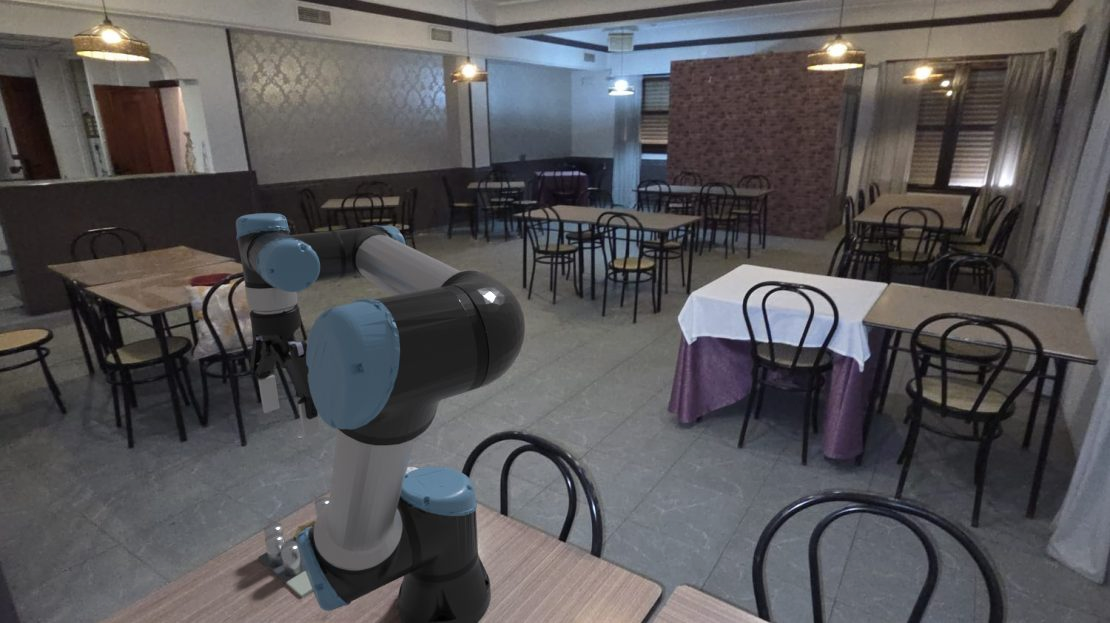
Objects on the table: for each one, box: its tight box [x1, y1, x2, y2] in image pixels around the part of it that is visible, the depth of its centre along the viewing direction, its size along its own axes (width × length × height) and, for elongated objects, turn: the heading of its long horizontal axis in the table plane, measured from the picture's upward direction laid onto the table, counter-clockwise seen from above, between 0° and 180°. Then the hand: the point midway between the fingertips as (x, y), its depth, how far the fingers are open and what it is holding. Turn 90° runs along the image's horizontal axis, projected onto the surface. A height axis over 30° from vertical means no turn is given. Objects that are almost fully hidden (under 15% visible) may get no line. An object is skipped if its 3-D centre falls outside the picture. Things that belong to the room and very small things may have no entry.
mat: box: [258, 537, 313, 598], centre depth 109 cm, size 15×16×1 cm
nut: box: [293, 520, 316, 541], centre depth 110 cm, size 6×5×3 cm
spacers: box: [263, 496, 330, 577], centre depth 109 cm, size 10×15×5 cm
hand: (290, 421), depth 104 cm, fingers open, 13 cm apart
